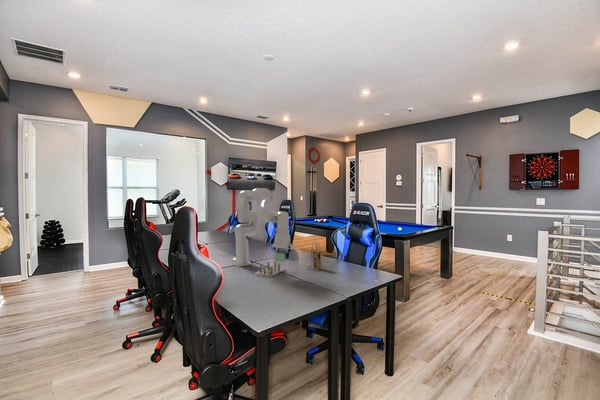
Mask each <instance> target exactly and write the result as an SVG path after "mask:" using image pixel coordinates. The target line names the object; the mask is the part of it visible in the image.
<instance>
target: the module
mask: <svg viewBox="0 0 600 400" xmlns="http://www.w3.org/2000/svg"><path fill="white" fill-rule="evenodd" d="M286 253H287V252H286V250H285V249H279V251H278V252H276V251H275V253H274V262H280V263H281V262H282V263H283V262H285V261H287V260H288V259H289V258H290V257H291V251H290V252H289V258H288V259H286Z"/></svg>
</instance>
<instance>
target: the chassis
mask: <svg viewBox="0 0 600 400" xmlns="http://www.w3.org/2000/svg"><path fill="white" fill-rule="evenodd" d="M273 264H274V267H273V266H272V265H271V266H270V261H268V262H267V264H266V265H267V267H266V266H263V265H262V264H261V265H259V270H258V271H256V272H254V275H255V276H261V277H269V278H273V277H275V276H277V275H280V273H282V272H285V270H286V268H282V267H281V262H280V263H277V261H274V263H273Z"/></svg>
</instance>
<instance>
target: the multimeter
mask: <svg viewBox="0 0 600 400" xmlns="http://www.w3.org/2000/svg"><path fill="white" fill-rule="evenodd" d="M313 243H315V246H316V247H315V250H313V249H312V250H311V253H310V254H311V258H312V265H310V266H309V267H307V268H306V270H309V268H310V267H312V270H313V271H315V272H317V271H321V272H323V270H324V267H323V265H322V261H321V260H322V258H321V257H322V255H321V253H322V252H321V250H318V247H319V248H321V246H320V242H317V241H313ZM313 247H314V245H312V246H311V248H313ZM315 269H316V270H315ZM321 269H322V270H321Z"/></svg>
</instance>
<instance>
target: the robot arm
mask: <svg viewBox="0 0 600 400" xmlns="http://www.w3.org/2000/svg"><path fill="white" fill-rule="evenodd" d="M271 196H272V193H271V190H270V189H269V188H265V187H263V188H262V187H256V188H253V189H252V190H241V191H239V193H238V195H237V200H238V201H237V202H238V209H237V221H238V222H239V223H240V224H237V225H236V226H235V227H234V231H233V232H234V236H235V257H234V258H233V259H232V261H233V262H234V264H233V265H234V266H236V267H245V266H246V267H247V266H250V265H251V264H252V263H251V261H249V260H250V259H249V240H248V239H247V236H254V235H255V234H256V233H257V229H258V219H259V218H258V213H257V211H256V210H252V209H251V204H250V202H252V203H253V202H256V204H257V205H258V206H259V207H258V212H259V215H260V217H261V219H262V220H263V221H264V222H266V223H268V224H270V223H276V228H275V229H274V230H275V231H276V232H275V234H274V242H273V244H272V245H271V247H272V248H273V250H274V251H275V253H276V252H278V251H279V250H281V249H285V250H286V252H287V253H286V259H287V260H289V252H290V253H291V251H293V249H294V246H293V244H292V243H291V235H290V233H289V219H290V218H289V216H290V215H289V213H288V212H287V211H281V210H269V211H268V207H270V205H271ZM250 209H251V210H250Z"/></svg>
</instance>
